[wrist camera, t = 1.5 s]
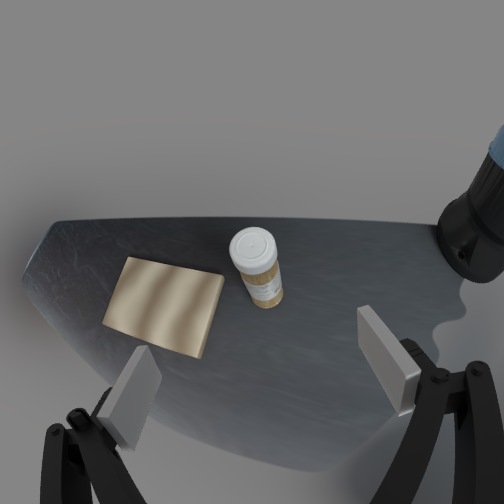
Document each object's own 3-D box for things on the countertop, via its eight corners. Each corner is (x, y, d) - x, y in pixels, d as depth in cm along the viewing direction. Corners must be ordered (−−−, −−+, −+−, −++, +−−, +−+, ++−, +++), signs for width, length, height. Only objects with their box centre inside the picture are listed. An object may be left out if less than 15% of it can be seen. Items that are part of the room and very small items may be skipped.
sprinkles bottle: (263, 273, 40) (246, 218, 29) (290, 289, 39) (284, 237, 27) (244, 298, 39) (218, 252, 27) (271, 316, 37) (257, 275, 26)
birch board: (224, 279, 41) (222, 275, 40) (200, 359, 36) (196, 357, 34) (132, 260, 45) (128, 256, 44) (107, 326, 40) (102, 323, 39)
